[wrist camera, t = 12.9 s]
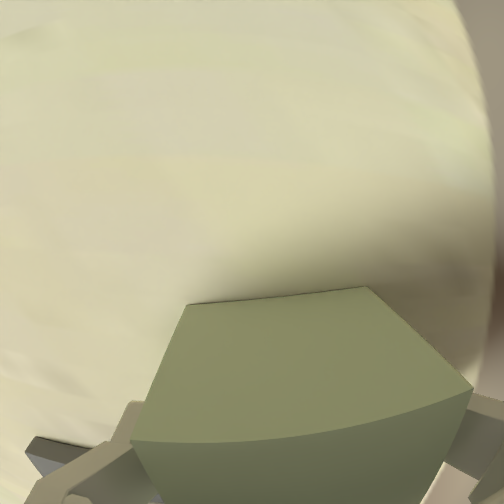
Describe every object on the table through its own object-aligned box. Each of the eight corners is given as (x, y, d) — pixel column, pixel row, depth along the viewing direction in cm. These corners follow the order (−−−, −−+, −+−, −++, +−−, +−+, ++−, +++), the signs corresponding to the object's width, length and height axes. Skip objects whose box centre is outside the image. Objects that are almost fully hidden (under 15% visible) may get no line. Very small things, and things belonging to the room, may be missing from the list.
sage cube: (186, 304, 8) (129, 438, 3) (366, 285, 8) (473, 387, 3) (214, 434, 9) (203, 557, 4) (356, 417, 9) (403, 527, 4)
